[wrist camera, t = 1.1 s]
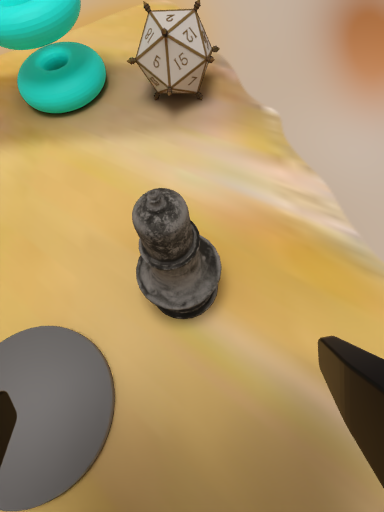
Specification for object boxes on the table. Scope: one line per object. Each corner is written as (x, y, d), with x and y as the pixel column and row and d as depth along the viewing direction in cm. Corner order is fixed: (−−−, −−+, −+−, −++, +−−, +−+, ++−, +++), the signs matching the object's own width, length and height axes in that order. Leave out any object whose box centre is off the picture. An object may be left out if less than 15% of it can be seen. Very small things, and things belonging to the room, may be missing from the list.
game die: (168, 117, 38) (113, 34, 33) (226, 72, 36) (177, -23, 31) (172, 133, 31) (102, 30, 26) (246, 77, 29) (185, -46, 24)
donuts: (61, -51, 30) (82, -5, 26) (98, 53, 39) (119, 100, 35) (-40, -21, 30) (-35, 32, 25) (22, 79, 38) (33, 130, 34)
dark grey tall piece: (136, 311, 24) (64, 234, 13) (161, 246, 26) (117, 134, 15) (210, 332, 23) (198, 264, 12) (229, 261, 25) (233, 150, 14)
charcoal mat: (139, 449, 20) (135, 450, 19) (-29, 546, 18) (-39, 552, 18) (86, 303, 24) (81, 300, 24) (-51, 372, 23) (-60, 371, 22)
